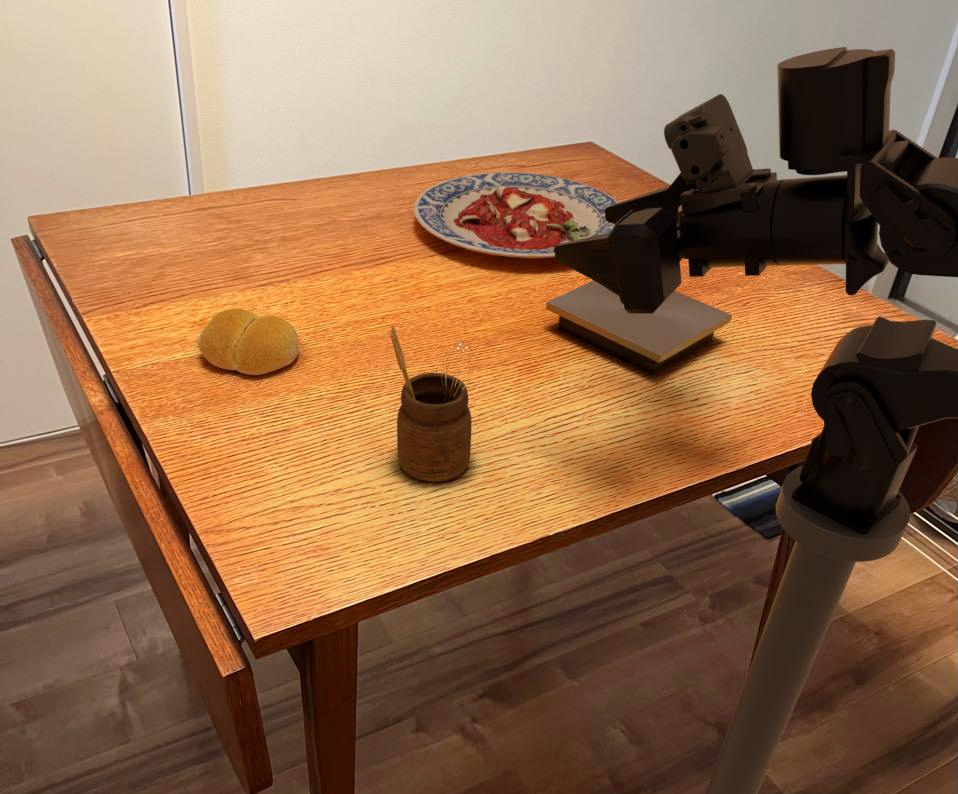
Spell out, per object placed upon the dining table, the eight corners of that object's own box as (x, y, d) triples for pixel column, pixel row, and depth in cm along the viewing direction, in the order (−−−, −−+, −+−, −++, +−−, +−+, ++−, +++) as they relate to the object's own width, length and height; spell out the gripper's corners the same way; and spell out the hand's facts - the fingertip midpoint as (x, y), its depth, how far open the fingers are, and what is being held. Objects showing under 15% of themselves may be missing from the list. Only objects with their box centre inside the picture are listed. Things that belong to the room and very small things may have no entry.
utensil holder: (470, 485, 73) (477, 352, 65) (391, 483, 73) (388, 349, 65) (470, 442, 77) (476, 312, 70) (395, 440, 77) (392, 310, 69)
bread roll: (278, 384, 83) (273, 345, 80) (189, 367, 85) (181, 328, 82) (315, 342, 89) (312, 304, 86) (231, 326, 91) (226, 288, 88)
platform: (725, 342, 93) (732, 314, 91) (655, 383, 86) (660, 355, 84) (616, 293, 100) (620, 267, 98) (543, 329, 93) (546, 301, 91)
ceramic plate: (369, 224, 111) (368, 200, 109) (508, 174, 126) (510, 152, 124) (533, 295, 98) (535, 269, 96) (666, 230, 113) (670, 206, 111)
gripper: (816, 68, 66) (617, 94, 74) (733, 135, 53) (505, 158, 62) (817, 224, 72) (632, 232, 80) (742, 317, 59) (533, 316, 68)
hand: (581, 232), depth 72 cm, fingers open, 9 cm apart
